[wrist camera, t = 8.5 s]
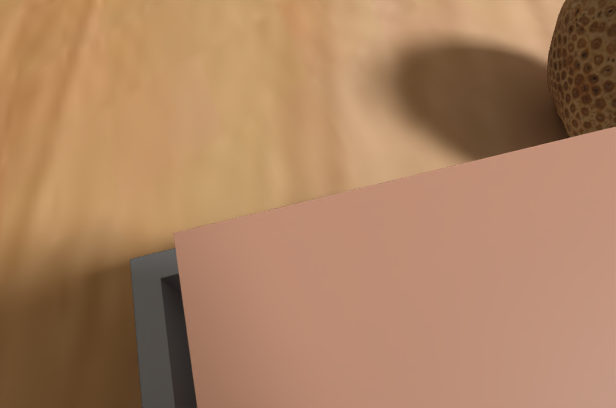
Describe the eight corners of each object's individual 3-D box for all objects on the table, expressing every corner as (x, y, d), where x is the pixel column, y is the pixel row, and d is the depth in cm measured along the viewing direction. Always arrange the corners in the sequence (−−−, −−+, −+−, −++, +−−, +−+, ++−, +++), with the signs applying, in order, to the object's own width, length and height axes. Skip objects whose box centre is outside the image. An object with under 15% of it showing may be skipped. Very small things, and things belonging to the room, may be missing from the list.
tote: (446, 214, 20) (477, 174, 16) (607, 562, 14) (709, 618, 11) (164, 286, 18) (129, 259, 15) (214, 714, 13) (178, 842, 9)
